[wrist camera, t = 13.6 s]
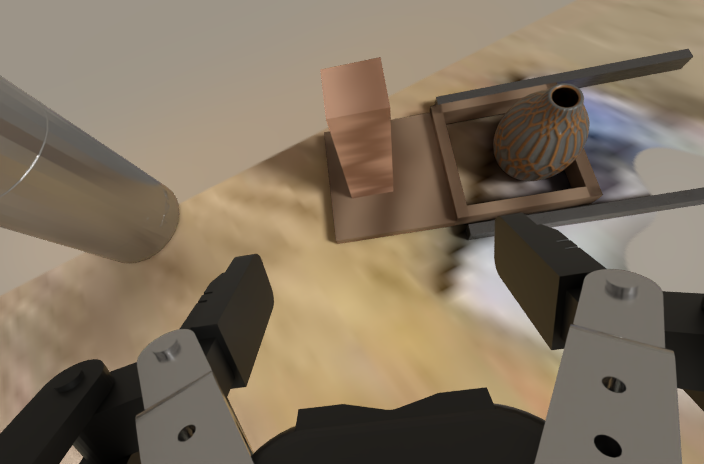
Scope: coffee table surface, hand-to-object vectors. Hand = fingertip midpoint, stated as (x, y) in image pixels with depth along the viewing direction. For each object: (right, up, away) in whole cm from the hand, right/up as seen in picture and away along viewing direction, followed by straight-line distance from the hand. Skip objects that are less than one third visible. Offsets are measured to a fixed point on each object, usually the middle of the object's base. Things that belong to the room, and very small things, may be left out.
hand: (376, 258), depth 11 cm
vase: (+16, +8, +21) cm, 27 cm away
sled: (+8, +7, +21) cm, 24 cm away
